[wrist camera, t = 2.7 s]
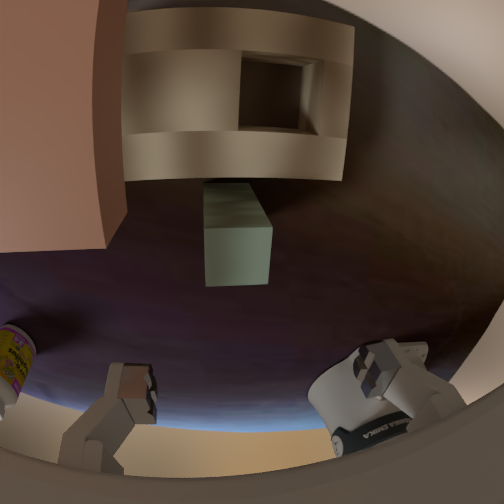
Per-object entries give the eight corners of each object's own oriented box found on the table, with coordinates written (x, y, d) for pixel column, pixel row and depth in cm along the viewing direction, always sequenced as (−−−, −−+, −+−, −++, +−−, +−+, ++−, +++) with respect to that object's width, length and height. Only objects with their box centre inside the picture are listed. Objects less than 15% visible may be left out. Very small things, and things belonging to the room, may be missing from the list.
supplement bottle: (44, 356, 33) (19, 429, 22) (14, 355, 32) (-13, 421, 21) (23, 321, 30) (-14, 396, 18) (-7, 321, 29) (-43, 388, 18)
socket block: (323, 39, 21) (354, 26, 15) (314, 163, 26) (341, 180, 21) (93, 39, 18) (66, 25, 12) (94, 167, 23) (68, 186, 18)
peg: (248, 182, 26) (272, 227, 18) (246, 223, 28) (267, 283, 20) (203, 182, 26) (204, 228, 17) (203, 224, 28) (205, 286, 19)
